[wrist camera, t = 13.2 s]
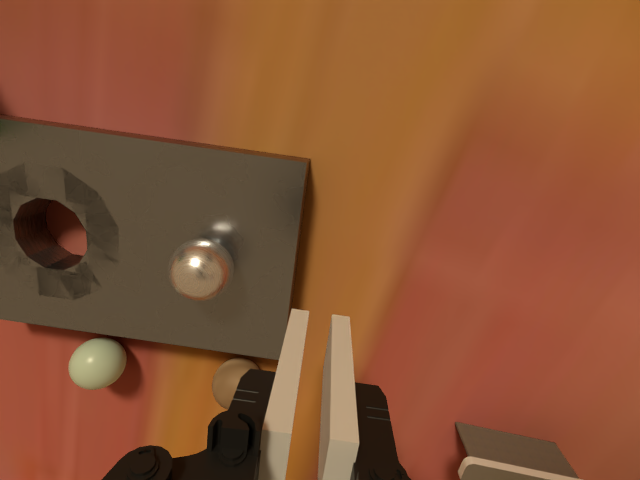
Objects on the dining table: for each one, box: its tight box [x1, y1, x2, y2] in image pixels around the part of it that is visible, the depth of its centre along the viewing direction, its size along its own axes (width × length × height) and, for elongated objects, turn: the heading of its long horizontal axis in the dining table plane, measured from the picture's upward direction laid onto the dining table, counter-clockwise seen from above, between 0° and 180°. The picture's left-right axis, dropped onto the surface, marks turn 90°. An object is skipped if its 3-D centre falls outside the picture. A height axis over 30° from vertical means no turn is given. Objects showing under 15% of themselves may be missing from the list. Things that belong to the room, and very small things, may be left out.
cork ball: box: [212, 358, 260, 409], centre depth 25 cm, size 4×4×4 cm
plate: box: [0, 114, 310, 360], centre depth 23 cm, size 20×13×2 cm, turn 82°
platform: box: [455, 422, 581, 480], centre depth 25 cm, size 12×18×7 cm, turn 78°
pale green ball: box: [69, 337, 127, 390], centre depth 26 cm, size 4×4×4 cm
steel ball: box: [168, 238, 234, 301], centre depth 20 cm, size 4×4×4 cm
